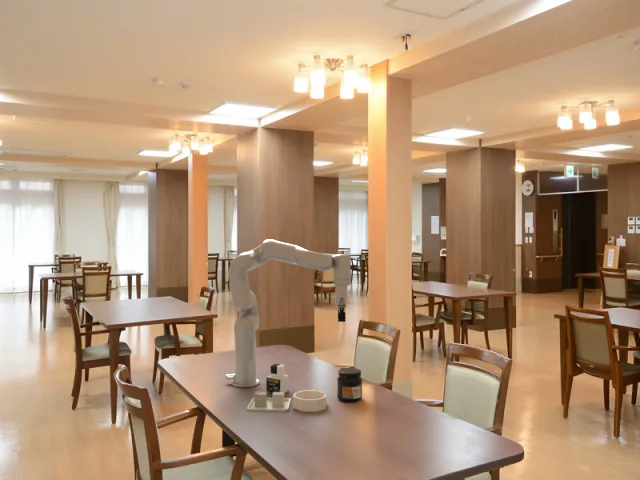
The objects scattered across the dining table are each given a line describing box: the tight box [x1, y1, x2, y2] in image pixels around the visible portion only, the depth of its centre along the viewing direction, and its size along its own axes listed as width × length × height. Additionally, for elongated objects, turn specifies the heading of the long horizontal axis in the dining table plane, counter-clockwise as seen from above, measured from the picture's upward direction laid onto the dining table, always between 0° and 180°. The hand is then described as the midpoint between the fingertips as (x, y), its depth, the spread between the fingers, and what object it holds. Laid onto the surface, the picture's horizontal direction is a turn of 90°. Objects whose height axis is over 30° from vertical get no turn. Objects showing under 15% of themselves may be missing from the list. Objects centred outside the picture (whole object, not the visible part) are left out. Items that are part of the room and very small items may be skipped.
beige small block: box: [254, 391, 268, 407], centre depth 217 cm, size 4×4×5 cm
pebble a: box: [271, 392, 285, 407], centre depth 217 cm, size 4×4×5 cm
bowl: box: [292, 389, 327, 413], centre depth 217 cm, size 13×13×5 cm
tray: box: [246, 397, 292, 413], centre depth 217 cm, size 16×14×1 cm
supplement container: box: [336, 367, 363, 403], centre depth 227 cm, size 10×10×12 cm
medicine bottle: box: [265, 363, 290, 395], centre depth 236 cm, size 7×7×12 cm
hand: (341, 319), depth 245 cm, fingers open, 9 cm apart
